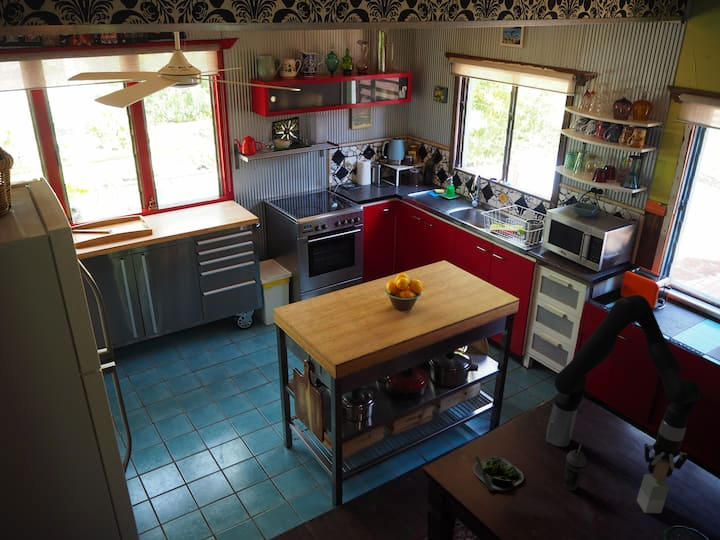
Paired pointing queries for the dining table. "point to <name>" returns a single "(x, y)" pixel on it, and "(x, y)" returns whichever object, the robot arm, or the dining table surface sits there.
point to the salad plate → (498, 474)
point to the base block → (649, 503)
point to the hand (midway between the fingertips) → (658, 473)
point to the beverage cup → (574, 469)
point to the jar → (661, 469)
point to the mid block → (654, 488)
